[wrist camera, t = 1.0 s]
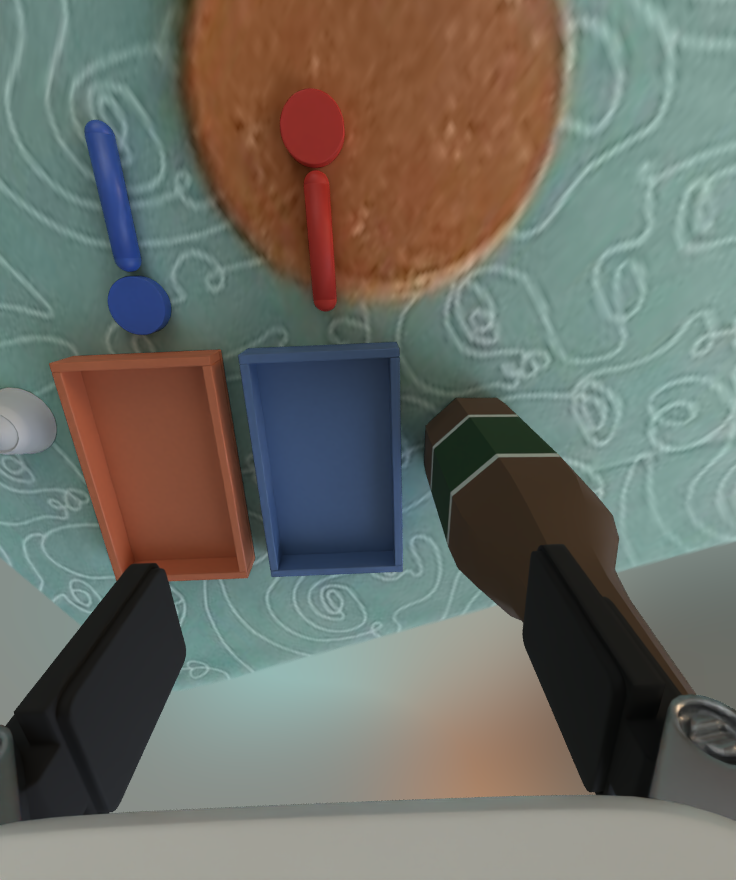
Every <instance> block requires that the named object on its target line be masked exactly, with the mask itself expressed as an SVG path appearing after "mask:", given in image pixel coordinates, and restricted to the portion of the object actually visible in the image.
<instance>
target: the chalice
mask: <svg viewBox="0 0 736 880" xmlns="http://www.w3.org/2000/svg"><path fill="white" fill-rule="evenodd" d="M56 432H57V428H56V422H55V418H54V416H53V414H52V412H51V410H50V409H49V408H48V407H47V405H46V404H45V403H44V402H43V401H42V400H41V399H39V398H38V397H36V396H35V395H33V394H32V393H30V392H27V391H25V390H22V389H18V388H4V389H0V454H6V455H13V454H25V453H27V454H34V453H39V452H42V451H44V450H45V449H47V448H49V447H50V446H51V444H52V443H53V441H54V440H55V436H56Z"/></svg>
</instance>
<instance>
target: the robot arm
mask: <svg viewBox="0 0 736 880" xmlns="http://www.w3.org/2000/svg"><path fill="white" fill-rule="evenodd" d="M523 642H524V646H525V648H526V651H527V653H528V655H529V658H530V660H531V662H532V665H533V667H534V670H535V672H536V674H537V677H538V679H539V681H540V684H541V686H542V688H543V691H544V693H545V695H546V698H547V700H548V702H549V704H550V707H551V709H552V712H553V714H554V716H555V719H556V721H557V723H558V725H559V728H560V731H561V732H562V735H563V738H564V740H565V742H566V745H567V747H568V749H569V752H570V754H571V756H572V759H573V761H574V763H575V765H576V768H577V770H578V773H579V775H580V777H581V780H582V782H583V784H584V786H585V788H586V789H587V791H589V792H595V793H596V795H559V796H558V795H553V796H552V795H551V796H506V797H505V796H504V797H475V798H447V799H419V800H392V801H366V802H341V803H316V804H295V805H294V804H293V805H269V806H246V807H225V808H204V809H183V810H164V811H141V812H125V813H109V812H113V811H115V810H116V809H117V807H118V806H119V804H120V802H121V800H122V798H123V796H124V793H125V791H126V789H127V787H128V785H129V782H130V780H131V778H132V776H133V774H134V771H135V769H136V767H137V765H138V763H139V760H140V758H141V756H142V754H143V751H144V749H145V747H146V745H147V743H148V740H149V738H150V736H151V734H152V732H153V730H154V727H155V725H156V723H157V721H158V719H159V716H160V714H161V712H162V710H163V708H164V705H165V703H166V701H167V699H168V697H169V695H170V692H171V690H172V688H173V686H174V684H175V681H176V679H177V677H178V675H179V673H180V670H181V668H182V666H183V664H184V661H185V657H186V646H185V642H184V638H183V635H182V631H181V627H180V623H179V620H178V616H177V612H176V608H175V605H174V601H173V597H172V593H171V589H170V586H169V582H168V578H167V574H166V571H165V570H164V569H163V568H159V566H158V565H157V563H138V564H131V565H130V566H129V567H128V568H127V569H126V570H125V571H124V573H123V574H122V575H121V576H120V578H119V579H118V580H117V582H116V583H115V584H114V585H113V587H112V588H111V589H110V590H109V592H108V593H107V594H106V596H105V597H104V598H103V599H102V601H101V602H100V603H99V604H98V606H97V607H96V608H95V609H94V611H93V612H92V613H91V615H90V616H89V617H88V618H87V620H86V621H85V622H84V623H83V625H82V626H81V627H80V629H79V630H78V631H77V633H76V634H75V635H74V636H73V638H72V639H71V640H70V641H69V643H68V644H67V645H66V646H65V648H64V649H63V650H62V651H61V653H60V654H59V655H58V657H57V658H56V659H55V660H54V662H53V663H52V664H51V665H50V667H49V668H48V669H47V670H46V672H45V673H44V674H43V675H42V677H41V678H40V680H39V681H38V682H37V683H36V684H35V686H34V687H33V688H32V689H31V691H30V692H29V693H28V694H27V696H26V697H25V698H24V700H23V701H22V702H21V703H20V705H19V706H18V707H17V708H16V710H15V711H14V716H13V717H12V718H11V720H10V721H9V722H8V723H7V725H6V726H3V725H0V880H736V710H735V709H733V708H730V707H729V706H727V705H725V704H724V703H721V702H719V701H717V700H714V699H711V698H709V697H706V696H701V695H694V694H688V695H682V694H681V692H680V691H679V690H678V688H677V687H676V686H675V684H674V683H673V682H672V680H671V679H670V678H669V676H668V675H667V674H666V672H665V671H664V670H663V668H662V667H661V666H660V664H659V663H658V662H657V660H656V659H655V658H654V656H653V655H652V654H651V652H650V651H649V650H648V648H647V647H646V646H645V644H644V643H643V642H642V640H641V639H640V638H639V636H638V635H637V634H636V632H635V631H634V630H633V628H632V627H631V626H630V624H629V623H628V622H627V620H626V619H625V618H624V616H623V615H622V614H621V612H620V611H619V610H618V608H617V607H616V606H615V604H614V603H613V602H612V601H611V600H610V599H609V598H607V597H605V596H604V597H602V595H601V594H600V593H599V591H598V590H597V588H596V587H595V586H594V584H593V583H592V582H591V580H590V579H589V577H588V576H587V575H586V573H585V572H584V571H583V569H582V568H581V566H580V565H579V564H578V562H577V561H576V560H575V558H574V557H573V555H572V554H571V553H570V551H569V550H568V549H567V547H566V546H565V545H564V544H549V545H540V546H539V547H538V549H537V551H532V553H531V557H530V566H529V575H528V585H527V594H526V604H525V613H524V623H523Z"/></svg>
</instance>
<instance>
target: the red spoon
mask: <svg viewBox="0 0 736 880" xmlns="http://www.w3.org/2000/svg"><path fill="white" fill-rule="evenodd" d="M280 132H281V137H282V140H283V143H284V145H285V147H286V148H287V150H288V152H289V153H290V154H291V156H292V157H293V158H294V159H295V160H296V161H297V162H299V163H300V164H302V165H304V166H307V167H311V168H320V167H323V166H326V165H328V164H330V163H331V162H332V161H333V160H334V159H335V158H336V157H337V156H338V154H339V153H340V151H341V149H342V146H343V143H344V137H345V129H344V121H343V116H342V113H341V111H340V109H339V107H338V105H337V103H336V102H335V101H334V99H333V98H332V97H330V96H329V95H328V94H327V93H325V92H323V91H321V90H318V89H313V88H308V89H303V90H300V91H298V92H296V93H295V94H293V95H292V96H291V97H290V98H289V99H288V101H287V102H286V104H285V105H284V107H283V110H282V113H281V117H280ZM304 195H305V207H306V218H307V230H308V242H309V254H310V266H311V278H312V290H313V301H314V304H315V306H316V307H317V308H318V309H319V310H321V311H330V310H332V309H333V308H334V307H335V305H336V302H337V295H336V280H335V264H334V249H333V234H332V218H331V203H330V187H329V181H328V178H327V176H326V175H325V174H324V173H323V172H321V171H318V170H313V171H311V172H309V173H308V174H307V175H306V177H305V179H304Z"/></svg>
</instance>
